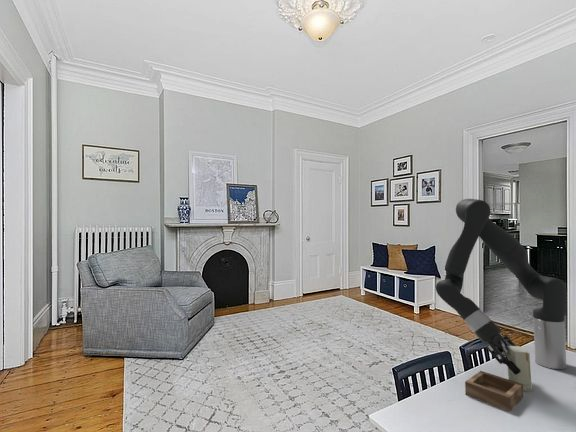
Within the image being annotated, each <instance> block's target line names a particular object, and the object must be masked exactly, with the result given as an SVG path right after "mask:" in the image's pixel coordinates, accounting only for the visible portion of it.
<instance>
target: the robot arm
mask: <svg viewBox="0 0 576 432" xmlns="http://www.w3.org/2000/svg"><path fill="white" fill-rule="evenodd" d="M455 213H456V216H457V217H458V219H459V220H460V221H462V222H463V229H462V230H461V234H460V235H459V236H458V238H457V240H456V241H455V243H454V244H453V245H452V247H451V249H450V250H449V253H448V254H447V255H448V256H447V259H446V262H445V265H444V272H445V278H444V279H442V280H439V281H438V282H437V283H436V284H435V291H436V293H437V295H438V296H439V298H440V299H442V301H444V303H446V304H447V305H449V306H450V308H452V309H454V311H455V312H456V313H457V314H458V315H459V316H460V317H461V318H462V320H463V321H464V322H465V323H466V325H467V327H469V329H470V330H471V331H472V332H473V333H474V334H475V336H476V337H477V339H479V340H480V341H481V342H482V343H484V344H486V343H488V346H486V350H487V351H488V352H489V353H490V354H491V356H492V357H493V358H494V359H495V360H496V361H497V362H498V364H501V365H502V364H503V365H506V366H507V369H508V368H509V369H510V370H511V371H512V372H513V373H514V374H515V375H516V374H518V373H520V372H521V370H520V369H519V368H518V367H517V366H516V365H515V364H514V362H513V361H511V359H510V357H509V356H508V348H507V346H517V345H516V344H515V343H514V342H513V340H512V339H511V338H510V337H509V336H508V335H506V334H505V335H504V336H502V335H500V334H501V333H502V329H501V328H499V326H498V325H497V324H496V323H495V322H494V321H493V320H492V319H491V318H490V317H489V315H487V314H486V312H484V311H483V310H482V309H481V308H480V307H479V306H478V305H477V304H476V303H475V301H473V300H472V299H471V298H468V297H466V296H464V295H463V294H462V293H461V292H462V288H463V283H464V278H465V277H464V275H465V272H466V269H467V266H468V264H469V260H470V257H471V254H472V252H473V250H474V247H475V245H476V243H477V241H478V240H479V238H480V239H481V240H482V242H483V243H484V245H486V246H487V248H488V249H489V250H490V251H491V252H492V253H493V254H494V255H495V256H496V257H497V258H498V260H500V262H502V263H503V264H504V265H505V267H506V268H507V269H508V270H509V271H510V272H511V273H512V274H513V275H514V276H515V277H516V279H517V280H518V281H519V283H520V284H521V286H522V287H523V288H524V289H525V291H526V292H527V293H528V294H529V295H530V296H531V297H533V298H535V299H538V300H540V301H541V300H542V307H539V308H538V307H537V308H535V309H533V311H532V320H533V321H532V322H533V341H534V342H533V345H534V361H535V363H536V364H538V365H540V366H542V367H545V368H549V369H554V370H566V369H567V368H566V367H567V350H566V349H567V348H566V347H567V346H566V344H567V343H566V328H565V316H566V313H567V303H568V302H567V300H568V299H567V293H568V292H567V288H566V287H567V286H566V284H565V283H564V281H563V280H561V279H560V278H556V277H551V276H545V275H544V276H543V275H541V274H540V273H538V272H537V271H536V270H535V269H534V268H533V267H532V266H531V265H530V262H529V255H528V252H527V250H526V248H525V247H524V245H522V243H520V241H518V239H516V237H514V235H512V234H511V233H509V232H508V231H507V230H505V229H503V228H502V227H500V226H499V225H497V224H496V223H495V222H493V220H492V219H490V215H491V206H490V205H489V203H487V202H486V201H485V200H482V199H476V198H465V199H461V200H459V202H458V203H457V204H456V207H455Z"/></svg>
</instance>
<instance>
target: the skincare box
mask: <svg viewBox="0 0 576 432" xmlns="http://www.w3.org/2000/svg"><path fill="white" fill-rule="evenodd" d="M507 348H508V356H509V357H510V359H511V361H513V362H514V364H515V365H516V366H517V367H518V368H519V369H520V370H521V372H520V373H518V374H516V375H515V374H514V373H513V372H512V371H511V370H510V369H509V368H508V367H507V376H508V378H507V379H508V380H511V381H515V382H518V383H521V384H523V391H527V392H532V390H533V389H532V386H533V385H532V375H531V373H532V371H531V370H532V369H531V359H530V352H529V351H528V350H526V349H525V348H523V347H522V346H518V345H516V346H507Z"/></svg>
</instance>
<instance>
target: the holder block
mask: <svg viewBox="0 0 576 432" xmlns="http://www.w3.org/2000/svg"><path fill="white" fill-rule="evenodd" d="M464 387H465V390H464V393H465V396H468V397H471V398H474V399H476V400H479V401H481V402H483V403H487V404H490V405H491V406H493V407H497V408H499V409H502V410H504V411H507V412H512V410H513V409H514V408H515V407H516V406H517V405H518V404H519V403H520V402H521V401H522V400H523V398H524V397H525V396H524V390H523V384H521V383H518V382H515V381H511V380H508V378H505V377H502V376H498V375H495V374H492V373H489V372H485V371H483V370H479V371H478V372H476V373H475V374H474V375H472V376H471V377H469V378H468V379H466V380H465V381H464Z"/></svg>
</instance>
